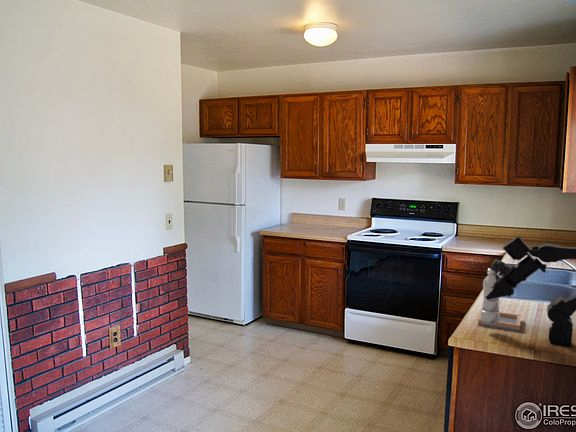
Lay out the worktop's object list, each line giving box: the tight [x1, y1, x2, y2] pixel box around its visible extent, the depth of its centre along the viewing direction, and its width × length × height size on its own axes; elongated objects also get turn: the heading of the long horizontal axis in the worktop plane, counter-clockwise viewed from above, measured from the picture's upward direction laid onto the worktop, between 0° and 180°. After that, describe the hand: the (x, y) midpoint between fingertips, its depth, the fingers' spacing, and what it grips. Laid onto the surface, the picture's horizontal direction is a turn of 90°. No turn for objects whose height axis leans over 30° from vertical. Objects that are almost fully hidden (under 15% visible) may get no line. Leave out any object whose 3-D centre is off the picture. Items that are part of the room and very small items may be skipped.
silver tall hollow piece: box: [479, 267, 500, 324], centre depth 178 cm, size 6×7×20 cm
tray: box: [477, 308, 521, 332], centre depth 190 cm, size 14×14×2 cm
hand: (487, 296), depth 179 cm, fingers closed on silver tall hollow piece, 6 cm apart
